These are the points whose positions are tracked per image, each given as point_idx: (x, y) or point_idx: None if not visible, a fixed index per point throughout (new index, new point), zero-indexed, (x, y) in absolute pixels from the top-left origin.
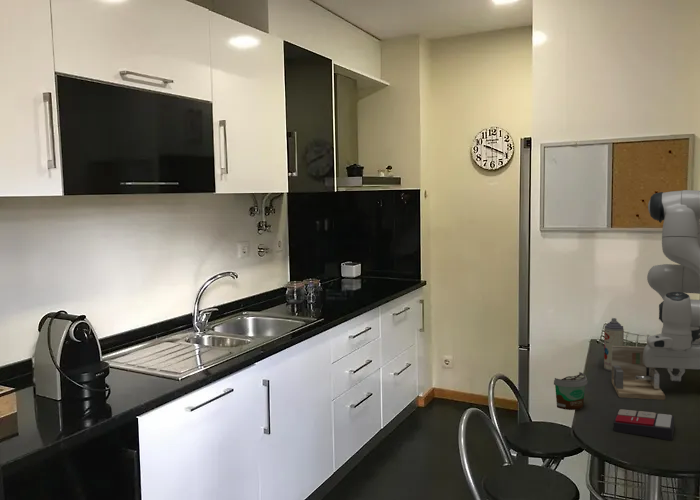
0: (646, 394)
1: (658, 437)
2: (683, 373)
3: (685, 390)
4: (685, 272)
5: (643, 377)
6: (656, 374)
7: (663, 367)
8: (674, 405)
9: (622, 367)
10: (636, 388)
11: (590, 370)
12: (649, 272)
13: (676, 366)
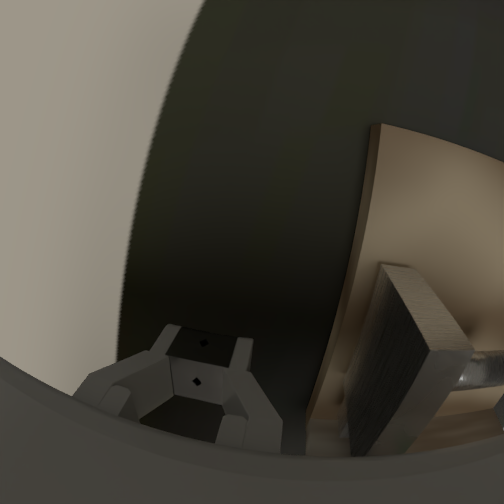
0: (497, 160)
1: None
2: (111, 366)
3: (161, 325)
4: None
5: (478, 366)
6: (458, 347)
7: (366, 460)
8: (335, 15)
9: None
10: (495, 290)
11: None
12: None
13: (151, 454)
